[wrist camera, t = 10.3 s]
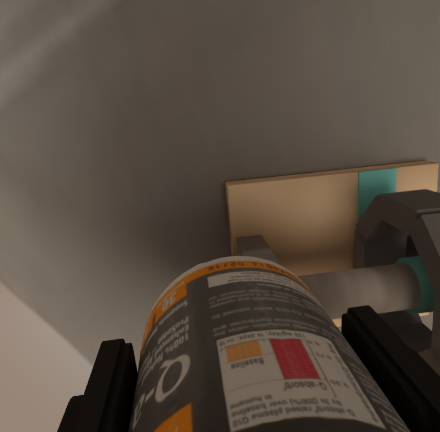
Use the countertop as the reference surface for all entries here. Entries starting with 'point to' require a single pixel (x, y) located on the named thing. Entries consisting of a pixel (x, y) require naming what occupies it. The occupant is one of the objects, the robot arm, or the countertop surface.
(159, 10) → the countertop surface
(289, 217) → the rail
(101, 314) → the countertop surface
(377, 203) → the octagonal nut
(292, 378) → the pill bottle
